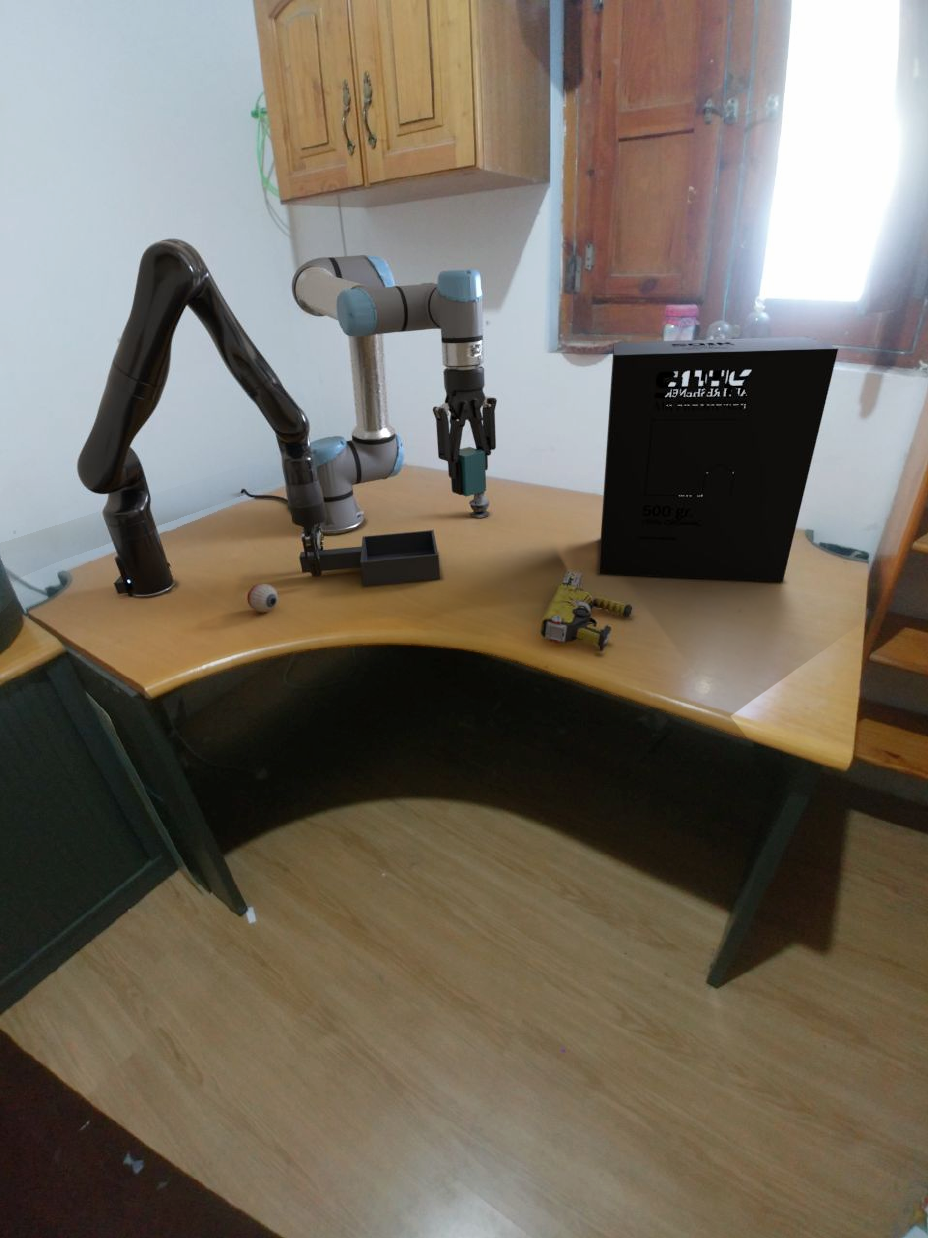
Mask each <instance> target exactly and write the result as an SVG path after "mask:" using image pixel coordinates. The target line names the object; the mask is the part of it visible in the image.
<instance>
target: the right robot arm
mask: <svg viewBox="0 0 928 1238" xmlns="http://www.w3.org/2000/svg"><path fill="white" fill-rule="evenodd" d="M481 280H482V279H481V273H480V272H479V270H478V269H475V268H469V269H467V268H466V269H452V270H451V269H449V270H441V271H439V273H438V276H437V283H435V282H427V283H425V282H423V283H420V284H419V283H418V284H408V285H407V284H406V285H396V283H395V282H396V281H395V278H394V275H393V272H392V270H391V268H390V266H389V265H388V263H387V262H386V260H385V259H384V258H382V257H381V256H379V255H366V254H359V255H343V256H332V257H326V256H324V257H322V256H321V257H317V258H312V259H311V260H307V261H306V262H304V263H303V264H302V265H300V266H299V267H298V268H297V269H296V271H295V273H294V275H293V277H292V281H291V291H292V292H291V293H292V296H293V299H294V301H295V303H296V305H297V306H298V307H299V308H300V309H301V310H302V311H304V312H305V313H307V314H309V315H311V316H314V317H325V316H326V317H329V318H331V319H333V320H336V321H338V323H339V326H340V328H341V330H342V332H343V333H344V334H345V335H346V336H347V338H348V339H347V340H348V348H349V349H348V350H349V359H350V369H351V370H350V371H351V380H352V392H353V404H354V413H355V423H356V425H355V427H353V428H352V430H351V439H350V440H346V439H345V437H343V436H341V435H334V436H326V437H323V438H319V439H316V440H314V441H313V440H312V442H311V441H310V445H311V451H312V454H313V456H314V459H315V463H316V468H317V473H318V479H319V483H320V485H321V489H322V494H323V500H324V506H325V511H326V520H325V521H324V522H322V523H321V527H322V533H323V536H324V535H325V536H327V535H329V536H331V535H339V534H340V535H341V534H345V533H350V532H353V531H355V530H357V529H359V528H361V527H362V526H363V525H364V523H365V519H364V514H365V510H364V509H362V510H361V508H360V505H359V504H358V501H357V500H356V498H355V495H354V489H353V486H355V485H359V484H365V483H371V482H375V481H380V480H387V479H389V478H392V477H396V476H398V475H399V474H400V473H401V471H402V469H403V467H404V463H405V449H404V447H403V441H402V438H401V437H400V435H399V434H397V433H396V432H395V428H394V427H393V426H392V425H390V423H389V407H388V405H389V404H388V391H387V374H386V357H385V356H386V355H385V341H384V334H393V333H405V332H415V331H426V330H440V337H441V338H440V339H441V357H442V359H441V360H442V365H443V366H444V367H445V368H444V370H443V386H444V390H445V399H444V403H443V404H440V405H439V406H436V405H435V406H433V407H432V413H433V416H434V417H435V424H436V426H435V427H436V438H437V439H436V441H437V454H438V455H437V456H438V459H439V460H442V461H445V462H447V470H448V477H449V478H450V479H451V478H452V484H451V490H452V489H453V491H452V493H454V494H456V495H459V496H464V495H463V475H462V462H461V461H458V458H459V452H460V449H461V446H462V445H461V444H462V439H463V431H464V427H465V425H466V421H468V423H469V425H470V430H471V434H472V439H473V442H474V445H475V449H478V450H482V451H485V473H486V471H488V469H489V458H488V456H491V455H492V451H494V450H496V448H497V437H496V413H495V411H496V407H497V401H498V400H497V398H496V397H492V396H486V394H485V392H484V388H485V386H486V384H485V368H484V367H483V366H482V365H483V363H484V362H485V358H484V357H485V356H484V355H485V354H484V320H483V319H484V318H483V317H484V316H483V312H484V311H483V296H484V294H483V291H482V281H481ZM481 409H482V410H481ZM240 494H245V495H246V496H247V497H249V498H252V499H274V500H279V501H283V502H285V503H287V507H288V508H289V504H288V499H287V498H285V497H283V496H278V495H273V494H271V495H270V494H251V493H249V492H248V491H247V490H246V488H241V490H240Z"/></svg>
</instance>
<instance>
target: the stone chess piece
mask: <svg viewBox="0 0 928 1238" xmlns="http://www.w3.org/2000/svg"><path fill="white" fill-rule="evenodd" d="M485 493H486V491H484V492H481V493H477V494H474V495H473V499H471V500H470V501H468V504H469V506H470V509H471V510H472V512H471V513H470V516H471V517H472V518H477V519H478V518H479V519H481V518H486V517H488V516H489V515H490V512H489V511H488V509H489V507H490V503H491V500H489V499H487V498H486V496H485Z"/></svg>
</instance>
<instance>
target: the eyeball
mask: <svg viewBox="0 0 928 1238" xmlns="http://www.w3.org/2000/svg"><path fill="white" fill-rule="evenodd" d="M246 600H247V603H248V605H249V607H250V608H251V609H252V610H254V611H255V612H258V613H268V612H270V611H272V610H273V609H274V608H275V607H276V606H277V603H278V600H279V596H278V593H277V590H276V589H275V588H274V587H273V586H272V585H270V584H267V583H258V584H255V585H253V586H252V587H251V588H250V589H249V591H248V592H247V599H246Z"/></svg>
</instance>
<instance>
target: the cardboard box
mask: <svg viewBox="0 0 928 1238" xmlns="http://www.w3.org/2000/svg"><path fill="white" fill-rule="evenodd" d="M612 347H613V348H612V363H611V375H610V376H611V377H610V393H609V407H608V423H607V437H606V452H605V469H604V482H603V495H602V497H603V498H602V514H601V525H600V526H601V527H600V545H599V570H598V571H599V575H612V576H632V577H633V576H634V577H635V576H637V577H659V578H679V579H680V578H682V579H701V580H702V579H703V580H729V581H754V582H772V583H773V582H774V583H775V582H776V583H783V582H784V579H785V574H786V570H787V567H788V563H789V557H790V553H791V549H792V545H793V541H794V537H795V536H794V535H795V532H796V527H797V524H798V519H799V515H800V511H801V506H802V503H803V500H804V499H803V498H804V495H805V490H806V486H807V483H808V477H809V474H810V469H811V466H812V465H811V464H812V460H813V456H814V453H815V448H816V444H817V439H818V436H819V431H820V428H821V423H822V419H823V415H824V411H825V406H826V403H827V398H828V394H829V391H830V386H831V382H832V377H833V373H834V370H835V364H836V360H837V357H838V353H839V348H838V347H835V346H832V345H830V344H827V343H825V342H822V341H819V340H816V339H815V338H811V337H809V336H805V335H804V336H780V337H779V336H775V337H774V336H773V337H749V338H748V337H747V338H745V337H744V338H743V337H742V338H721V339H720V338H717V339H716V338H715V339H689V340H688V339H687V340H684V339H683V340H656V341H655V340H653V341H625V342H624V341H623V342H621V341H620V342H613V346H612ZM696 371H697V372H701V373H700V376H699V375H696ZM745 371H750V372H749V373H748V374H747V375H742V374H743V372H745ZM676 372H677V375H676ZM686 372H689V373H688V381H687V385H683V382H684V381H683V380H684V376H683V375H684V374H685V373H686ZM711 372H712V373H711ZM732 373H733V378H732V381H733V382H739V381H742V382H741V385H740V384H739V385H736V384H735V385H732V384H731V383H730V378H731V374H732ZM711 374H712V375H711ZM700 382H702V385H700ZM713 382H718V385H712V384H713ZM671 383H675V385H674V386H673V385H671V386H670V384H671Z"/></svg>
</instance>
